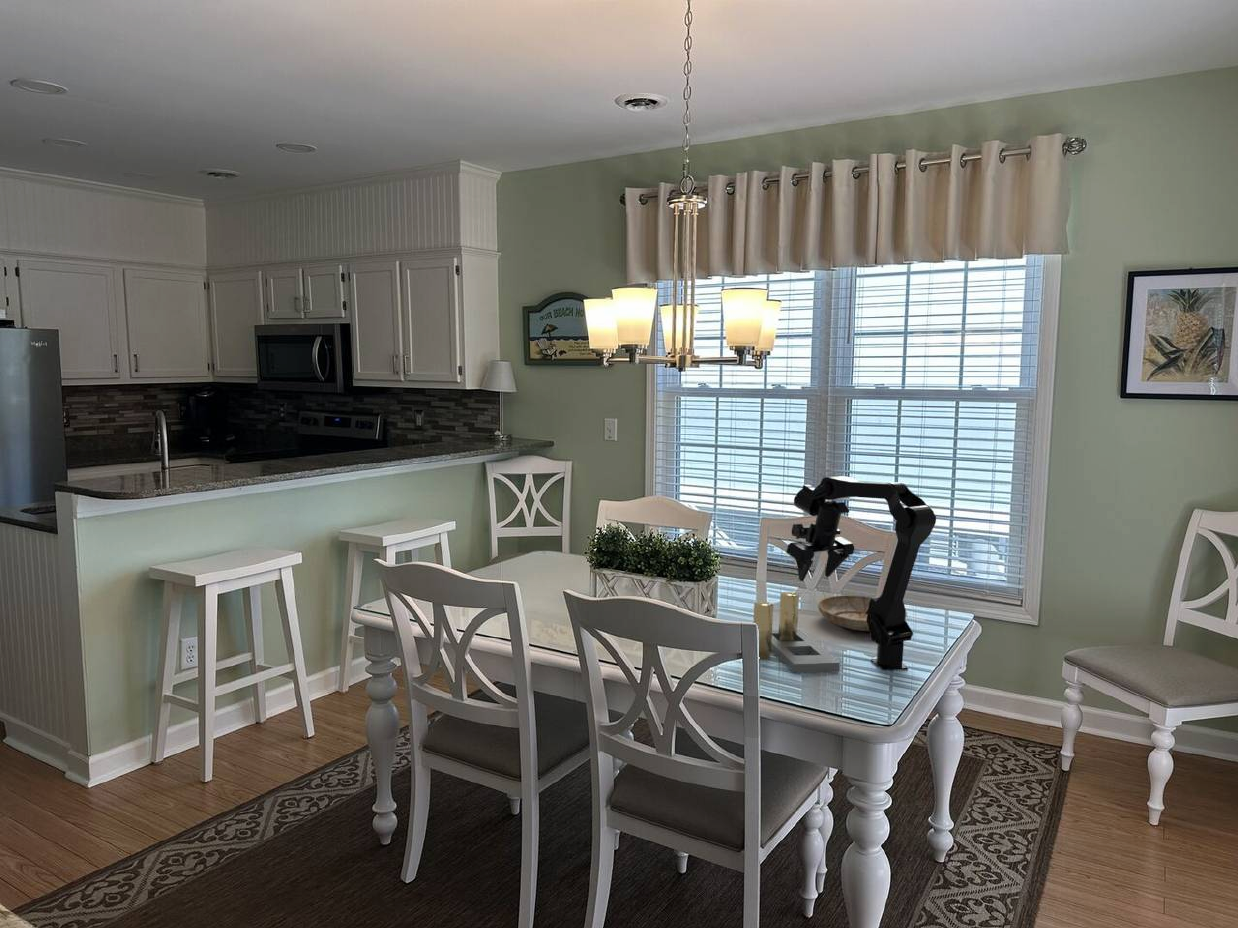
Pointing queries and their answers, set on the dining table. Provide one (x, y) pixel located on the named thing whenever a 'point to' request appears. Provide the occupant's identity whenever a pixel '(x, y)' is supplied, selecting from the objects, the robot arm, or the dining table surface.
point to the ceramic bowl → (847, 611)
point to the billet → (788, 617)
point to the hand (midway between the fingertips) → (814, 578)
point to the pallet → (803, 645)
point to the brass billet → (764, 627)
